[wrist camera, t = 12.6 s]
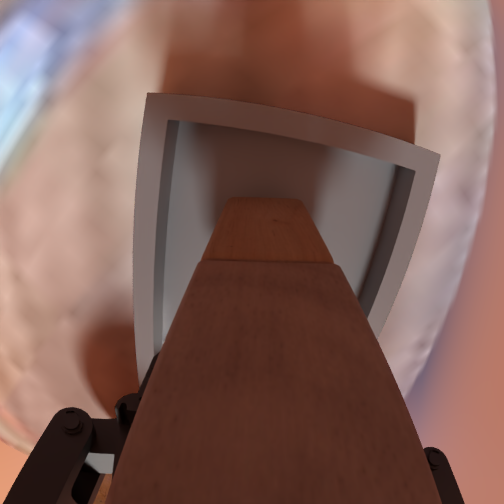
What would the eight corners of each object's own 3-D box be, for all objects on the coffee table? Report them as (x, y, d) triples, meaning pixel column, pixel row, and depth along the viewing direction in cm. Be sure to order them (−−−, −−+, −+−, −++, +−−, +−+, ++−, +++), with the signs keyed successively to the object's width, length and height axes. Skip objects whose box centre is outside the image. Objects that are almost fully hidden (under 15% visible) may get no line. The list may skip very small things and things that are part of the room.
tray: (167, 98, 15) (147, 92, 12) (414, 149, 15) (440, 154, 12) (151, 367, 22) (139, 394, 19) (326, 395, 22) (331, 423, 19)
